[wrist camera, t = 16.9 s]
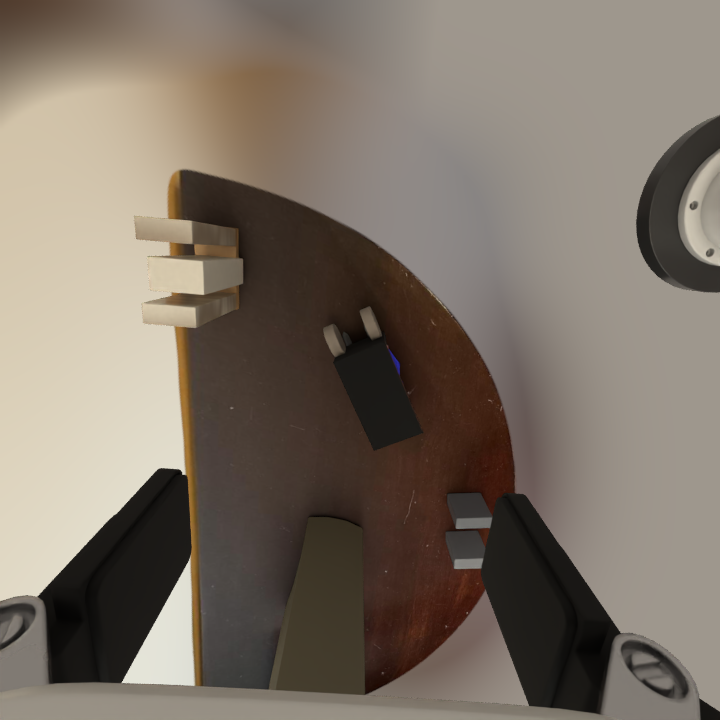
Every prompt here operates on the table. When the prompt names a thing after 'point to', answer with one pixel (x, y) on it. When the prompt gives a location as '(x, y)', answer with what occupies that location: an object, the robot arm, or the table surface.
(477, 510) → the grey rectangular blocks
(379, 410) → the figurine character
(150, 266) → the beige rectangular block
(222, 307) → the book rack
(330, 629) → the book
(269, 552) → the table surface
